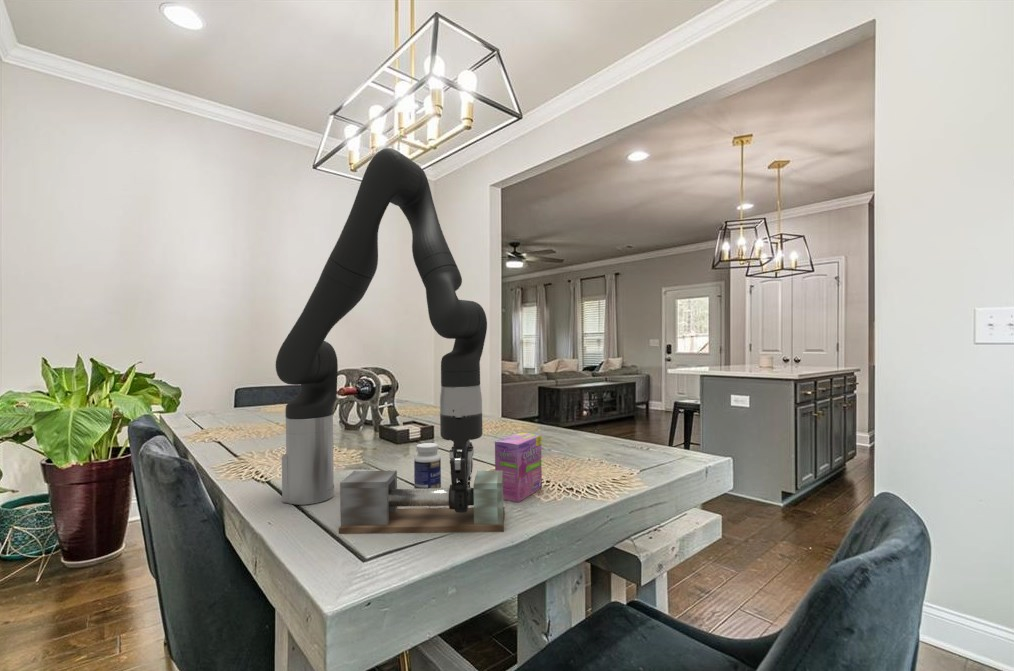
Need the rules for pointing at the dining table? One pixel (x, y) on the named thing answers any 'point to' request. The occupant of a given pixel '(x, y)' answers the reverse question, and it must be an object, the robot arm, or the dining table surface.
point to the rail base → (372, 514)
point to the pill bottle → (427, 466)
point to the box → (519, 465)
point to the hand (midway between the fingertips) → (462, 506)
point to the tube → (426, 497)
